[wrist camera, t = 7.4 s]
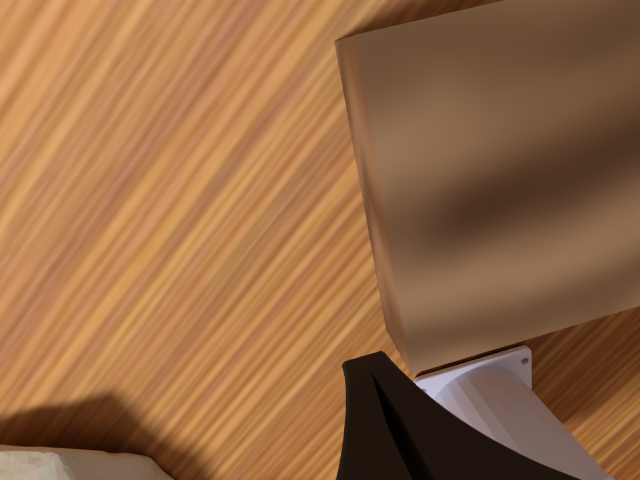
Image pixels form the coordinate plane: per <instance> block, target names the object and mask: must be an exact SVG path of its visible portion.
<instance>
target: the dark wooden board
mask: <svg viewBox="0 0 640 480" xmlns="http://www.w3.org/2000/svg"><path fill="white" fill-rule="evenodd" d="M335 46H336V52H337V57H338V63H339V68H340V74H341V79H342V85H343V91H344V96H345V102H346V107H347V113H348V118H349V124H350V129H351V135H352V141H353V146H354V152H355V157H356V163H357V168H358V174H359V179H360V185H361V191H362V196H363V202H364V207H365V213H366V218H367V224H368V230H369V235H370V241H371V246H372V252H373V257H374V263H375V268H376V274H377V280H378V285H379V291H380V296H381V302H382V307H383V313H384V319H385V324H386V330H387V332H388V333H389V335H390V337H391V339H392V341H393V342H394V344H395V346H396V348H397V350H398V351H399V353H400V355H401V357H402V359H403V360H404V362H405V364H406V366H407V368H408V369H409V371H410V373H411V374H413V373H417V372H420V371H423V370H427V369H430V368H433V367H437V366H440V365H443V364H447V363H450V362H454V361H457V360H460V359H464V358H467V357H470V356H474V355H477V354H480V353H484V352H487V351H490V350H494V349H497V348H500V347H504V346H507V345H511V344H514V343H517V342H521V341H524V340H527V339H531V338H534V337H537V336H541V335H544V334H547V333H551V332H554V331H557V330H561V329H564V328H567V327H571V326H574V325H578V324H581V323H584V322H588V321H591V320H594V319H598V318H601V317H604V316H608V315H611V314H614V313H618V312H621V311H624V310H628V309H631V308H634V307H638V306H640V0H502V1H498V2H494V3H490V4H485V5H481V6H477V7H472V8H468V9H464V10H459V11H455V12H451V13H447V14H442V15H438V16H434V17H429V18H425V19H421V20H416V21H412V22H408V23H404V24H399V25H395V26H391V27H386V28H382V29H378V30H373V31H369V32H365V33H361V34H356V35H353V36H350V37H347V38H344V39H340V40H337V41H335Z"/></svg>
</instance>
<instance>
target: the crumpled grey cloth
mask: <svg viewBox="0 0 640 480" xmlns="http://www.w3.org/2000/svg"><path fill="white" fill-rule="evenodd" d="M0 480H174V479H173V478H172V477H170V476H169V475H168V474H166V473H165V472H163V471H162V470H161V468H160V467H159V466H158V465H157V464H156V463H155V462H154V461H153V460H152V459H151V458H150V457H148V456H141V455H137V454H132V453H107V452H105V451H96V450H81V449H67V448H52V447H23V446H12V445H0Z"/></svg>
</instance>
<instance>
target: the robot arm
mask: <svg viewBox="0 0 640 480" xmlns="http://www.w3.org/2000/svg"><path fill="white" fill-rule="evenodd" d="M522 359H523V360H522ZM342 368H343V372H344V376H345V384H346V416H345V427H344V438H343V445H342V452H341V458H340V463H339V469H338V473H337V478H336V480H615V479H614V478H613V477H612V476H609V475H608V474H607V473H606V472H605V471H604V470H603V469H602V468H601V466H600V465H599V464H598V463H597V462H596V461H595V460H594V459H593V458H592V456H591V455H590V454H589V453H588V452H587V451H586V450H585V449H584V448H583V447H582V445H581V444H580V443H579V442H578V441H577V440H576V439H575V438H574V437H573V435H572V434H571V433H570V432H569V431H568V430H567V429H566V428H565V427H564V425H563V424H562V423H561V422H560V421H559V420H558V419H557V418H556V417H555V416H554V414H553V413H552V412H551V411H550V410H549V409H548V408H547V407H546V406H545V404H544V403H543V402H542V401H541V400H540V399H539V398H538V397H537V396H536V395H535V393H534V392H533V391H532V352H531V350H530V349H529V348H528V347H527V346H525V345H523V346H519V347H515V348H512V349H509V350H505V351H502V352H499V353H495V354H492V355H489V356H485V357H482V358H479V359H475V360H472V361H469V362H465V363H462V364H459V365H455V366H452V367H449V368H445V369H442V370H439V371H435V372H432V373H429V374H425V375H422V376H419V377H417V378H416V379H414V381H412V380H411V379H409V378H408V377H407V376H406V375H405V374H404V373H403V372H402V371H401V370H400V369H399V368H398V367H397V366H396V365H395V364H394V363H393V362H392V361H391V359H390V358H389V357H388V356H387V355H386V354H385V353H384V352H382V351H379V352H376V353H372V354H369V355H365V356H362V357H358V358H355V359H352V360H348V361H345V362H344V363H343V365H342ZM422 389H423V390H422Z"/></svg>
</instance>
